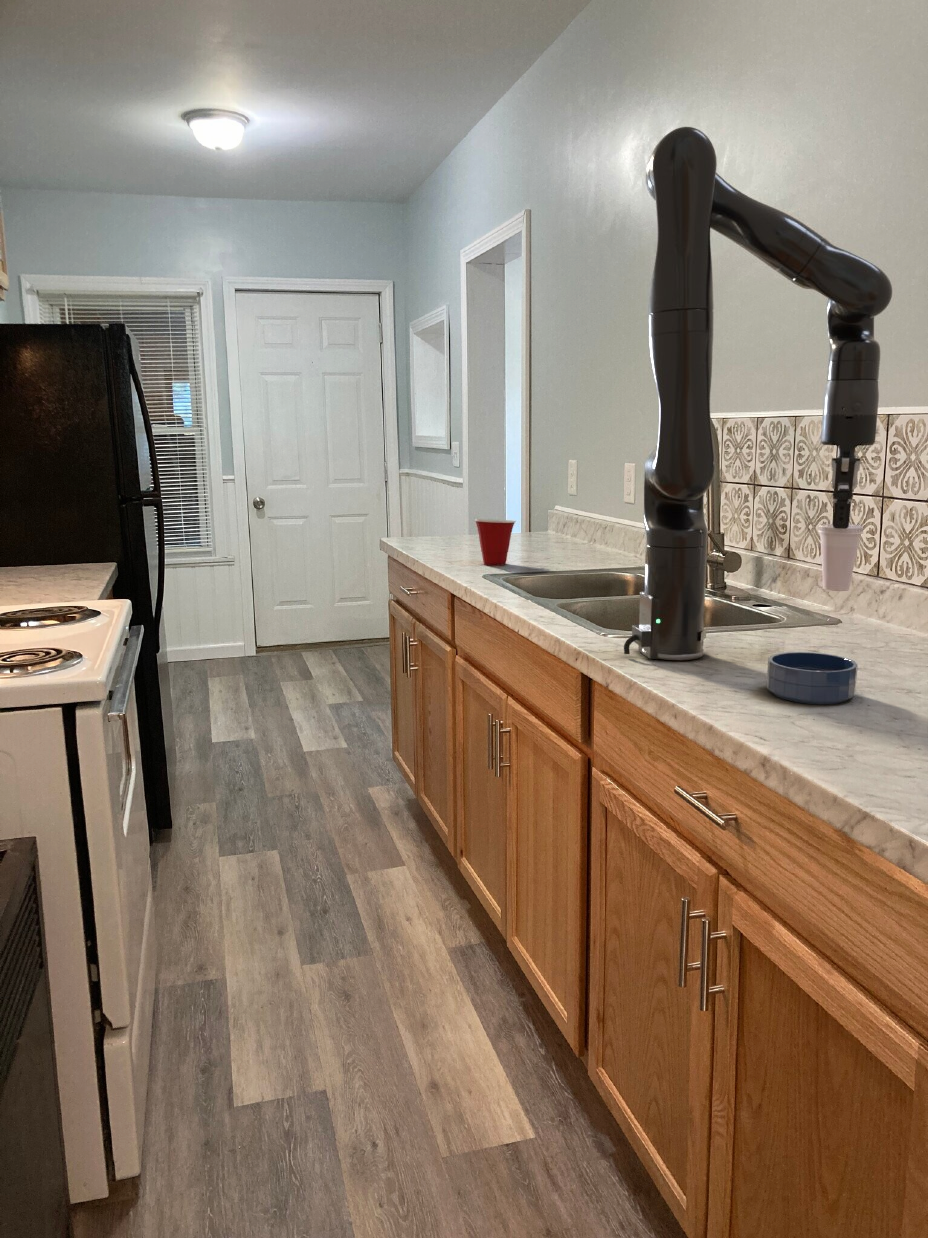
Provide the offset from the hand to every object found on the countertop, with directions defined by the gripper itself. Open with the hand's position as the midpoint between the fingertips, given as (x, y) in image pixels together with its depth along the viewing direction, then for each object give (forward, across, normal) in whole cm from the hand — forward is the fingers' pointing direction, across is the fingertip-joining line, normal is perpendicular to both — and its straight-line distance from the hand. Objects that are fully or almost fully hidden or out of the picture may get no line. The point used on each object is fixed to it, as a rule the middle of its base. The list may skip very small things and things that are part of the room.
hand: (841, 525), depth 145 cm
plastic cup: (+21, -79, -85) cm, 118 cm away
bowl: (+20, +24, -2) cm, 32 cm away
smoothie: (+10, 0, 0) cm, 10 cm away
